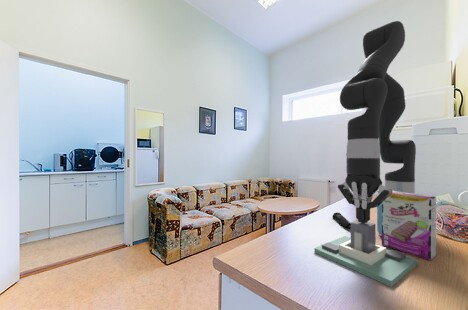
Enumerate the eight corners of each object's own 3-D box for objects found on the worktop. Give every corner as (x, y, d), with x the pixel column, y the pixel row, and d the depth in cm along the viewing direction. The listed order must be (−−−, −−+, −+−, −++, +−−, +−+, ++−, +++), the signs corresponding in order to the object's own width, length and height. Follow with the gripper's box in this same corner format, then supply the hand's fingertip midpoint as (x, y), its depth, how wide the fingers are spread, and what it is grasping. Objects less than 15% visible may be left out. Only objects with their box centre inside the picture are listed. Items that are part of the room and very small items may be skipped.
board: (344, 239, 66) (344, 229, 66) (417, 264, 51) (417, 251, 51) (314, 252, 57) (314, 241, 57) (391, 286, 42) (391, 271, 42)
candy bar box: (381, 246, 61) (380, 191, 61) (387, 242, 64) (387, 189, 64) (431, 262, 52) (431, 197, 52) (437, 256, 55) (436, 195, 55)
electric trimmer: (344, 231, 74) (344, 222, 74) (331, 218, 90) (331, 210, 90) (355, 232, 74) (355, 223, 74) (340, 218, 89) (340, 211, 89)
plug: (358, 248, 57) (358, 219, 57) (375, 254, 53) (375, 223, 53) (349, 253, 54) (349, 223, 54) (366, 259, 51) (366, 227, 51)
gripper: (398, 156, 51) (399, 226, 51) (345, 156, 62) (345, 214, 62) (386, 156, 46) (386, 232, 46) (331, 156, 58) (331, 218, 57)
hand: (362, 222), depth 54 cm, fingers closed
